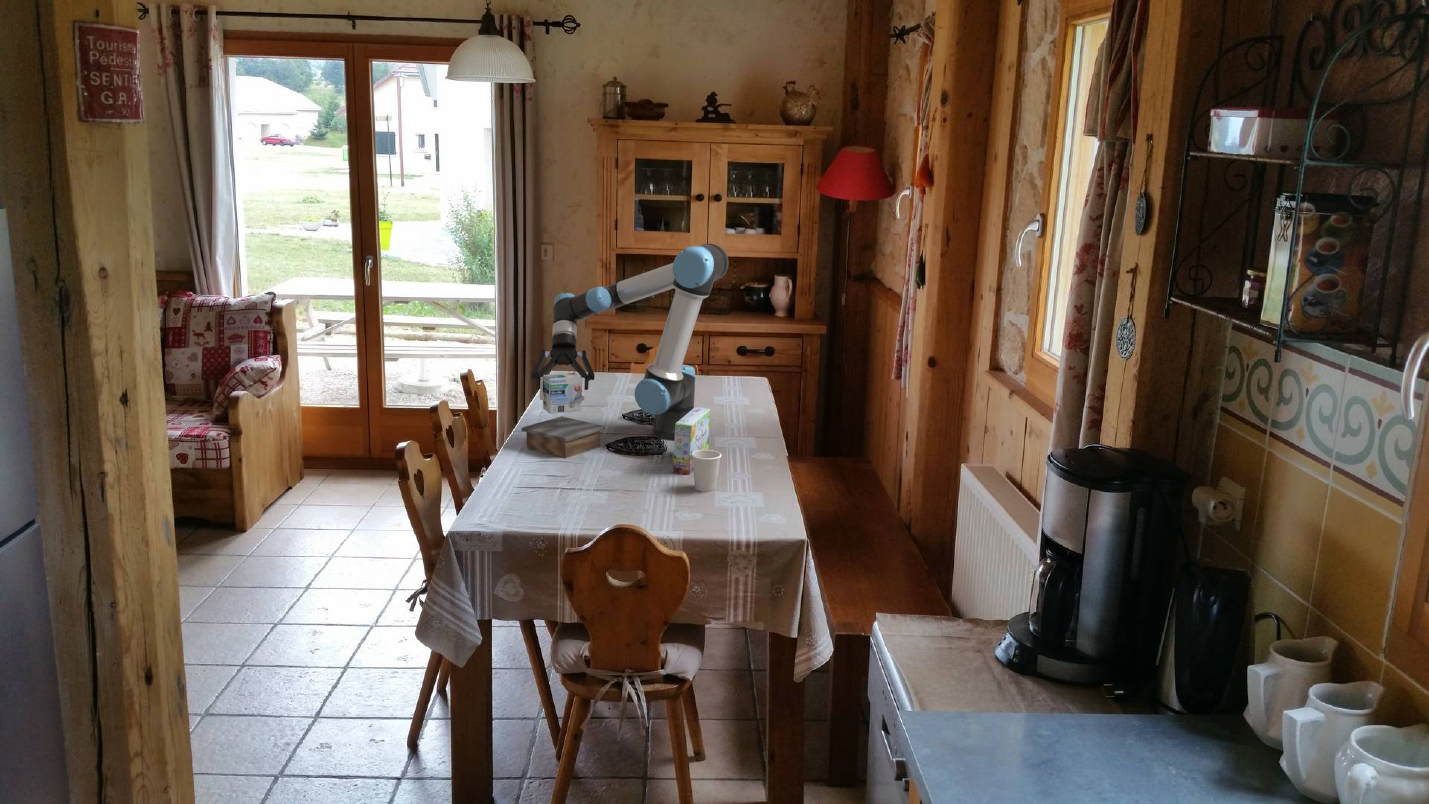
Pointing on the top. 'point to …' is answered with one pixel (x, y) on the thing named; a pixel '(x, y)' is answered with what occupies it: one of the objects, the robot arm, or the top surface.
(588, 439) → the podium
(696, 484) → the dixie cup
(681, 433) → the snack box
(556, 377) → the light bulb box
